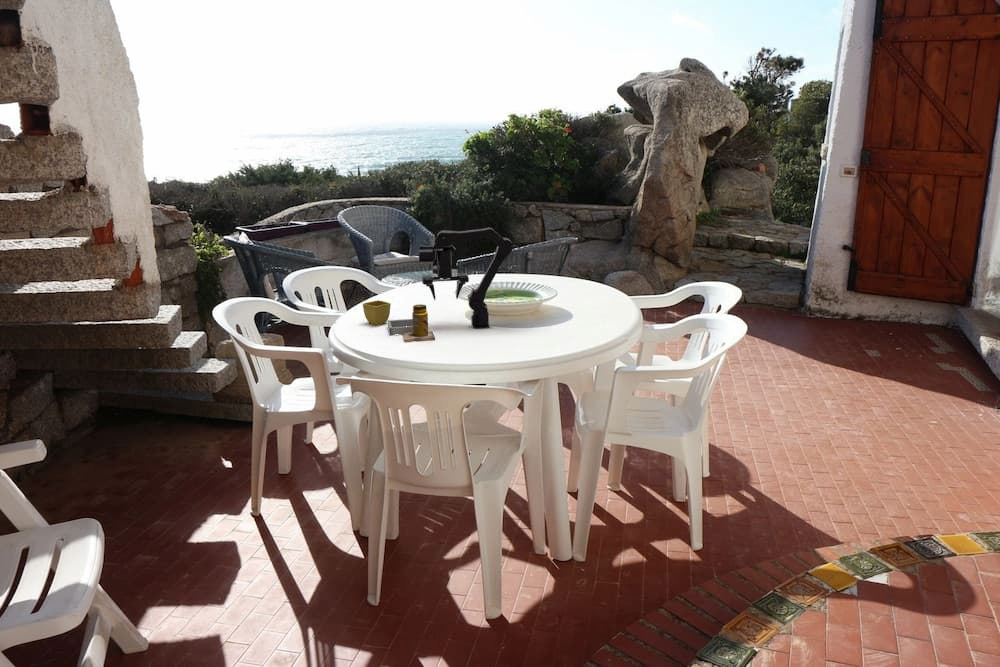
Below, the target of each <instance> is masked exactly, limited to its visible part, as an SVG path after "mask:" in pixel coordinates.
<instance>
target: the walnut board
mask: <svg viewBox="0 0 1000 667" xmlns="http://www.w3.org/2000/svg"><path fill="white" fill-rule="evenodd" d="M412 333H413V332H412ZM428 333H429V334H431V336H426V337H420V338H414V339H413V338H411V337H409V336H407V335H406V334H410V333H403V335H402V338H404V339H403V342H404V343H412V342H411V341H416V342H426V341H425V340H430V341H436V337H435V334H434V332H433V330H428Z"/></svg>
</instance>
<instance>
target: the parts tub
mask: <svg viewBox="0 0 1000 667" xmlns="http://www.w3.org/2000/svg"><path fill="white" fill-rule="evenodd" d="M406 326H407V327H406ZM387 328H389V329H388V333H390V334H389V336H396V335H395V334H403V333H412V332H413V318H407V319H406V318H405V319H404V318H403V319H390V320H387Z"/></svg>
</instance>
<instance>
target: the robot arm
mask: <svg viewBox="0 0 1000 667" xmlns="http://www.w3.org/2000/svg"><path fill="white" fill-rule="evenodd" d="M484 239H488V240H490V241H491V242H492V243H493V244H494V245H496V249H495V252H494V256H493V258H492V260H491V262H490V264H489V266H488V268H487V270H486V272H485V273H484V275H483V277H482V279H481V281H480V283H479V285H478V286H477V287H476V288H474V287H472V288H471V291H470V293H469V294H468V295H467V297H468V301H467V302H468V306H469V308H470V309H471V310H473V311H472V315H471V321H470V322H471V324H470V325H471V326H472V327H473V329H485V328H486V327H488V328H490V327H491V326H490V318H489V309H488V304H487V303H485V298H486V295H487V291H488V289H489V288H490V286H491V284H492V282H493V280H494V278H495V277H496V274H497V273H498V271H499V269H500V267H502V266H501V265H502V264H503V262H504V261H505V260H506V259H507V258H508V257H509V255H510V254H511V253H512V252H513V250H514V244H513V241H511V239H509V238H508V237H503V236H502V235H501V234H499V233H498V232H496V231H495V230H494V229H493V228H492V227H486V228H478V229H471V230H461V231H458V230H457V231H456V230H443V229H442V230H440V231H439V232H438V233H437V236H436V240H435V241H434V242H433V244H432V245H419V248H418V250H419V252H418V262H419V263H434V261H435V260H437V265H431V266H432V267H431V268H432V275H436V276H432V275H431V274H430V275H429V274H428V275H427V274H426V275H422V277H421V283H422V285H425V286H426V287H429V289H430V290H429V291H430V292H431V294H432V297H433V301H436V292H435V285H434V282H452V281H453V282H454V281H456V288H455V289H456V293H455V298H456V300H458V298H459V296H460V292H461V290H462V288H463V286H464V285H466V283H469V282H470V277H469V275H468V274H467V273H465V272H464V273H463V272H462V273H457V275H453V262H452V260H453V259H452V257H453V256H452V252H456V250H457V249H456V247H454V246H453V245H455V244H456V243H461V242H467V241H474V240H484ZM486 329H487V328H486Z"/></svg>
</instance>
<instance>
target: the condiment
mask: <svg viewBox="0 0 1000 667" xmlns="http://www.w3.org/2000/svg"><path fill="white" fill-rule="evenodd" d="M428 314H429V313H428V311H427V305H426V304H420V303H419V304H415V305H412V318H411V319H413V333H410V334H406V335H407V336H409V337H411V338H413V339H414V338H420V337H426V336H431V334H429V333H428V331H429V317H428V316H429V315H428Z"/></svg>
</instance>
